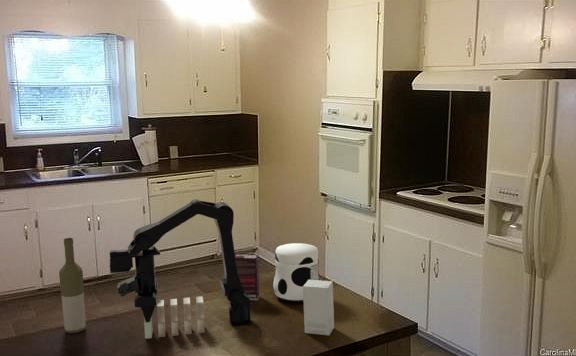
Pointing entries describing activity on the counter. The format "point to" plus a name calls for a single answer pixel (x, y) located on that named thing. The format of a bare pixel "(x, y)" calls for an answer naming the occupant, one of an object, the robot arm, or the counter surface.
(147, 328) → the domino
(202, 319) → the end domino
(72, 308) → the bottle
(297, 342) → the counter surface
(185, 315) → the domino
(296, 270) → the milk container
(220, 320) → the counter surface
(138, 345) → the counter surface
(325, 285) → the skincare box
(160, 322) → the domino
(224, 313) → the counter surface
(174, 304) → the domino
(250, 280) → the supplement box
